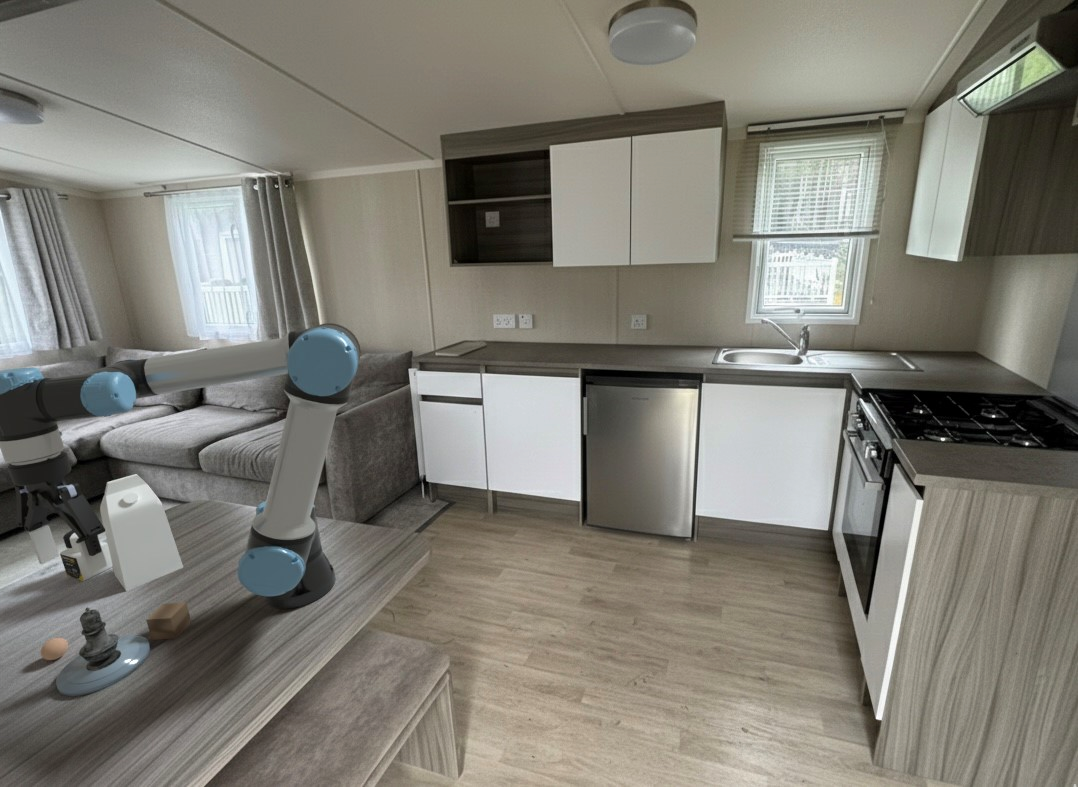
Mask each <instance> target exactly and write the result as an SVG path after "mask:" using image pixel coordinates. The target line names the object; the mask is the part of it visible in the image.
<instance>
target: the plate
mask: <svg viewBox="0 0 1078 787" xmlns="http://www.w3.org/2000/svg"><path fill="white" fill-rule="evenodd" d="M118 638H119V639H118V641H117V642H118V644H117V648H116V650H120V651H121V656H120V658H119V659H118V660H117V661H115V662H114V663H113V664H111V665H109V666H108V667H105V668H103V669H100V670H96V671H89V670H87V669H86V666H87V664H88V663H89V661H86V660H85V659H84V658H83V657H81V656H80V655H79V654H78V656H75V657H74V658H73V659H72V660H71V661H70V662H68V663H67V664H66V665H65V666H64V667H63V668H62V669H61V670H60V671H59V673H58V675H57V677H56V680H55V685H56V687H57V690H58V692H59V693H60V694H62V695H63V696H67V697H77V696H85V695H89V694H92V693H94V692H95V693H96V692H98V691H101V690H103V689H105V688H108V687H110V686H113V685H114V684H116V683H119V682H120V681H121V680H123V679H124V678H126V677H128V676H130V675H131V674H132V673H134V672H135V671H136V670H137V669H138V668H139V667H140V666H142V664H144V662H145V661H146V660H147V659H148V657H149V655H150V653H151V645H150V642H149V640H148V638H146V637H145V636H142V635H135V634H134V635H125V636H121V637H118Z"/></svg>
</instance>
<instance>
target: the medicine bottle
mask: <svg viewBox="0 0 1078 787" xmlns="http://www.w3.org/2000/svg"><path fill="white" fill-rule="evenodd" d="M62 538H63V542H64V544H65V547H66V549H65V550H63V551H60V552H59V557H60V560H61V561H62V564H63V567H64V571H65V574H66V576H67V577H68V578H72V579H74V580H78V581H81V582H85V581H87V580H89V579H91V578H93V577H95V576H97V575H99V574H101V573H103V572H105V571H108V570H110V569H111V568H113V565H112V560H111V556H110V552H109V547H108V543H107V542H105V541H102V540H101V541H100V540H99V542H100V545H101V548H102V551H103V554H104V557H105V561H106V564H107V566H106V567H104V568H102V569H100V570H98V571H96V572H94V573H92V574H88V573H87V570H86V567H85V564H84V561H83V558H82V555H81V552H80V549H79V546H78V543H76V541H77V539H78V538H79V537H78V536H77V535H76V534H75V533H74V531H73V530H72V529H71V530H70V531H68V532H66V533H65V534H64V535H63V537H62Z"/></svg>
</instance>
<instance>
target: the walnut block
mask: <svg viewBox="0 0 1078 787" xmlns="http://www.w3.org/2000/svg"><path fill="white" fill-rule="evenodd" d="M145 621H146V624H147V628H148V631H149V634H150V637H151V640H152V641H154V640H155V641H157V640H167V639H171V640H172V639H177V638H178V637H180V635H181V633H183V632H184V630H185V629H187V627H188V626H190V624H191V623H192V620H191V615H190V611H189V609H188V604H187V602H172V603H170V602H169V603H162V604H161V605H160V606H159V607H158V608H157V609H155V610H154V612H153V613H152V614H151V615H149V616H148V617H147V618H146V619H145Z"/></svg>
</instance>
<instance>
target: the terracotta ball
mask: <svg viewBox="0 0 1078 787" xmlns="http://www.w3.org/2000/svg"><path fill="white" fill-rule="evenodd" d="M68 648H69V643H68V641H67V640H66V639H65V638H64V637H63V638H62V637H56V638H55V637H54V638H51V639H49V640H48V641H47V642H45V643H44V644H43V645H42V647H41V649H40V656H41V657H42V658H43V659H44V660H47V661H53V660H58V659H60V658H61V657H63V656H64V655H65V654H66V652H67V651H68Z"/></svg>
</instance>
